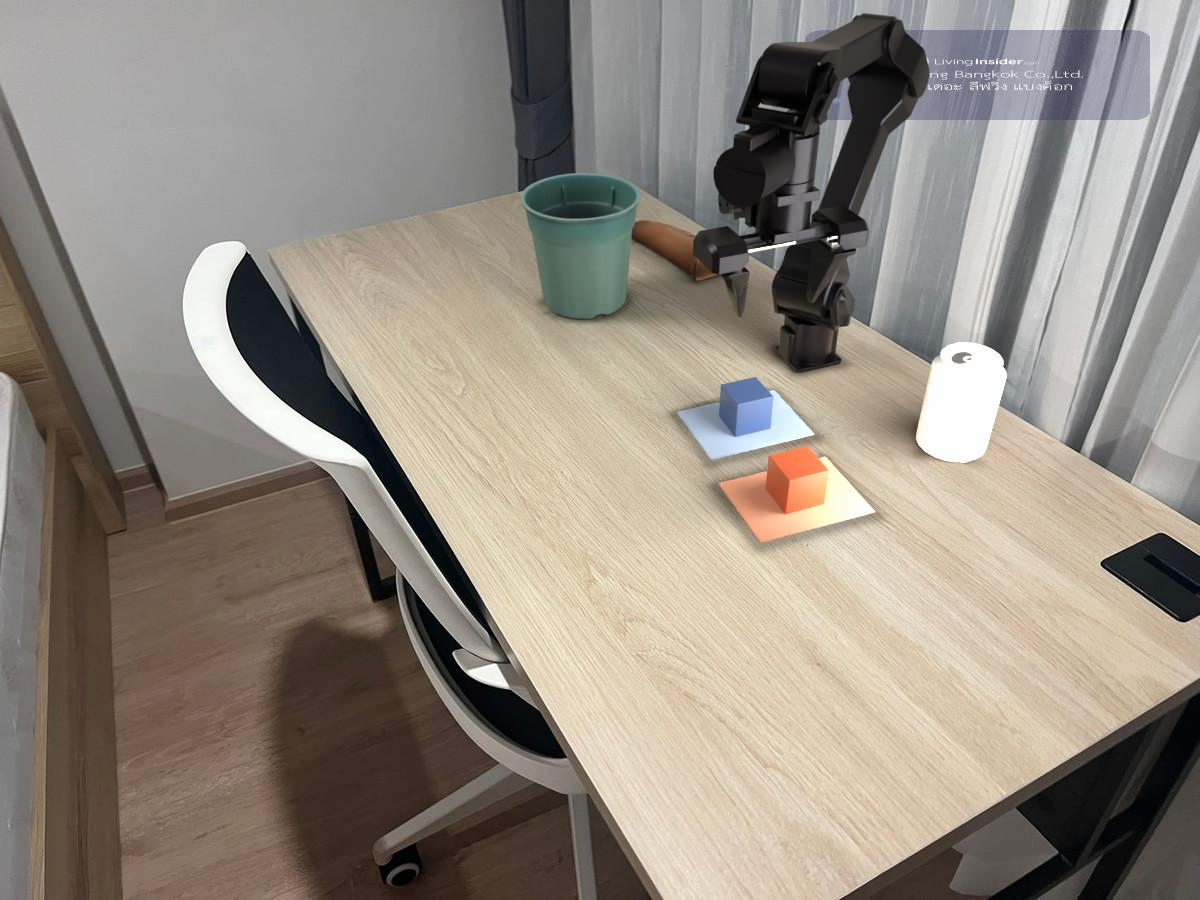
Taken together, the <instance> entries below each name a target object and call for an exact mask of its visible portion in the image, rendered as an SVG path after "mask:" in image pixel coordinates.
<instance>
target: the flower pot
mask: <svg viewBox="0 0 1200 900" xmlns="http://www.w3.org/2000/svg"><path fill="white" fill-rule="evenodd" d="M641 198H642V192H641V190H640V188H639V187H638V186H637V185H636V184H635V183H633V182H632V181H630V180H628V179H625V178H623V177H620V176H616V175H611V174H606V173H596V172H576V173H573V172H572V173H564V174H558V175H557V174H556V175H553V176H549V177H546V178H542V179H540V180H537V181H535V182H533V183H531V184H530V185H528V186H527V187H525V188H524V189H523V191H522V192H521V194H520V204H521V206H522V207H523V209H524V211H525V213H526V217H527V219H526V220H527V225H528V229H529V230H530V232H531V234H532V241H533V246H534V253H535V257H536V263H537V271H538V276H539V281H540V287H541V293H542V294H541V295H542V299H543V303H544V304H545V305H546V306H547V307H548V310H549V311H550V312H552V313H553V314H556V315H558V316H561V317H564V318H569V319H575V320H578V319H579V320H587V319H594V318H595V317H597V316H598V315H604V316H607V315H611V314H614V313H615V312H617V311H618V310H619V309H620V308H622V307H623V305H624V304H625V303H626V299H627V293H628V281H629V270H630V269H629V268H630V258H631V256H630V255H631V246H632V245H631V244H632V239H631V236H632V228H633V227H634V224H635V223H636V216H637V208H638V207H637V206H638V205H639V204H640V201H641Z"/></svg>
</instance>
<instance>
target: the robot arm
mask: <svg viewBox="0 0 1200 900" xmlns="http://www.w3.org/2000/svg"><path fill="white" fill-rule="evenodd" d="M845 79H847V80H848V83H849V85H848V89H847V99H848V100H847V101H848V105H849V109H850V114H851V119H850V123H849V126H848V128H847V131H846V134H845V136H844V139H843V142H842V144H841V148H840V150H839V152H838V154H837V158H836V160H835V163H834V166H833V168H832V171H831V174H830V176H829V179H828V181H827V185H826V187H825V189H824V192H823V194H822V198H821V201H820V197H821V196H820V195H821V189H819V188H817V187H816V186H815V179H816V171H817V169H816V168H817V160H818V151H819V142H820V134H821V126H822V125H823V124H824V123H826V122H827V120H828V112H829V110H830V108H831V106H832V104H833V101H834V100H835V99H836V98H837V97H838V92H839V89H840V86H841V82H842V81H844V80H845ZM929 79H930V66H929V62H928V57H927V55H926V50H925V48H923V46H922V45H921V44H920V43H919V42H917V41H916V40H915V39H914V38H913V37H912V36H911V35H909V33H907V31H906V29H905V26H904V22H903V20H902V19H899V18H898V17H896V16H894V15H885V14H876V13H868V12H866V13H865V12H864V13H861V14H856V15H855V16H854V17H853V19H852V20H851V21H850V22H848V23H846V24H843V25H842V26H839V27H838V28H835V29H834V30H832V31H830V32H828V33H826V34H824V35H822V36H820V37H818V38H816V39H814V40H811V41H780V42H773V43H771V44H770V45H769V46H767V47H766V48H765V49H764V51H763V52H762V55H760V56H759V58H758V59H757V61H756V63H755V66H754V68H753V71H752V74H751V77H750V80H749V82H748V85H747V88H746V91H745V93H744V96H743V99H742V102H741V104H740V106H739V107H740V108H739V110H738V113H737V115H736V118H735V123H736V124H739V125H745V126H748V129H746V130H740V131H739V132H736V133H735V134H734V135H733V143H732V147H729V148H728V149H726V150H724V152H722V153H721V154H720V155H719V156H718V158H717V160H716V162H715V165H714V166H713V171H712V175H713V183H714V185H715V189H716V191H717V192H718V195H717V202H718V210H719V213H720V214H722V215H733V219H734V220H736V221H737V220H739V219H744V225H745V226H747V227H748V228H754V229H755V230H754V232H753V233H747V234H743V235H739V234H738V233H737V232H736V231H734V229H732V228H731V227H730V226H729V225H725V226H720V227H714V228H709V229H704V230H699V231H698V232H697V234H696V235H695V238H694V240H693V255H694V256H695V257H696V258H697V259H698V260H699V261H700V262H701V263H702V264H703V265H704V266H705V267H706V268H707V269H708V270H709V271H710V272H711V273H714V274H719V275H718V276H720V277H721V279H722V280H723V282H724V285H725V288H726V291H727V294H728V297H729V300H730V303H731V306H732V310H733V312H734V315H735V316H736V317H737V318H742V317H743V314H744V311H745V308H746V300H747V293H748V287H749V286H748V285H749V279H750V270H748V268H746V267H745V266H747V265H748V263H749V257H750V254H751V253H756V252H761V251H766V250H772V249H777V248H782V247H787V248H786V249H785V253H784V255H783V259H782V262H781V264H780V267H779V268H778V270H777V271H776V272H775V275H774V277H773V279H772V284H771V295H772V303H773V309H774V311H773V312H774V314H776V315H777V314H778V315H783V316H784V317H783V318H784V319H783V324H782V325H781V326H780V329H779V339H778V344H777V345H775V346H774V351H775V352H776V353H777V354H778V355H779V356H780V357H781V358H782V359H783V360H784V361H785V362H786V363H787V364H788V365H789V366H790V367H791V368H792V370H794V371H795V372H796V373H799V374H800V373H804V372H810V371H814V370H819V369H822V368H827V367H832V366H836V365H840V364H842V358H841V357H840V355H838V354H837V353H836V351H837V345H838V337H839V332H840V331H839V330H840V328H844V327H849V326H850V323H851V318H852V314H853V313H854V311H855V308H854V307H855V303H856V298H855V297H854V296H853V293H852V292H851V291H850V289H849V288H848V286H847V285H848V283H849V279H850V276H851V275H850V269H849V268H850V267H849V263H848V258H849V257H851V256H854V255H856V253H857V249H858V248H864V247H866V246H867V245H868V241H869V234H870V228H869V224H868V222H867V221H866V219H864V218H863V217H861V216H860V215H859V214H860V212H861V209H862V207H863V205H864V202H865V198H866V196H867V193H868V191H869V188H870V186H871V183H872V180H873V177H874V175H875V172H876V170H877V167H878V164H879V161H880V160H881V156H882V154H883V151H884V149H885V146H886V144H887V142H888V138H889V136H890V134H892V132H894V131H895V130H896V129H897V128H898V127H900V126H901V125H902V124H903V123H904V122H905V121H907V120H908V119H910V117H911V116H912V114H913V112H914V110H915V107H916V106H917V103H918V100H919V99H920V98H922V97H923V96H924V94H925V92H926V90H927V87H928V84H929ZM760 105H763V106H769V107H774V108H781V109H787V110H786V111H783V110H777V109H772V108H766V107H761V106H760ZM813 201H820V202H819V203H820V204H819V205H818V209H816V210H815V211H814V213H812V207H813V206H812V205H813V204H812V203H813Z"/></svg>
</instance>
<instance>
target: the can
mask: <svg viewBox="0 0 1200 900" xmlns="http://www.w3.org/2000/svg"><path fill="white" fill-rule="evenodd" d="M1003 366H1004V359H1003V357H1002V356H1001V354H1000V353H999V352H997V351H995V349H993V348H991V347H988V346H986V345H983V344H979V343H975V342H955V343H951V344H948V345H946V346H944V347H943V348H942V349H941V350H940V353H939V355H937V356H935V358H934V359H933V360H932V361H931V364H930V370H929V373H928V379H927V383H926V387H925V391H924V396H923V401H922V404H921V410H920V414H919V419H918V424H917V428H916V434H915V440H916V443H917V444H918V447H920V448H921V449H922V450H923V452H925V453H926V454H928V455H929V456H932V457H934V458H936V459H939V460H941V461H944V462H949V463H950V462H951V463H961V464H964V463H968V462H971V461H974V460H977V459H979V458H980V457H982V456H984V454H985V452H986V451H987V448H988V445H989V441H990V438H991V434H992V430H993V426H994V423H995V419H996V416H997V413H998V409H999V405H1000V402H1001V398H1002V395H1003V391H1004V387H1005V384H1006V380H1007V371H1006V369H1005V368H1004V367H1003Z"/></svg>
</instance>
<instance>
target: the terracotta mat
mask: <svg viewBox="0 0 1200 900" xmlns="http://www.w3.org/2000/svg"><path fill="white" fill-rule="evenodd" d="M818 458H819V460H820V461H821V462H822V463H823V464H824V465H825V466H826V467H827V469H828V470H829V475H828V481H827V488H826V494H825V501H824V504H822V505H819V506H815V507H811V508H807V509H804V510H800V511H796V512H792V513H789V514H785V513H784V512H783V510H782V509H781V508H780V507H779V505H778V504H777V503H776V501H775V500H774V499H773V498H772V496H771V495H770V494H769V492H768V491H767V490H766V488H765V487H766V477H767V470H764V471H762V472H757V473H753V474H749V475H744V476H742V477H741V476H740V477H737V478H734V479H729V480H724V481H720V482H718V483H717V484H718V485H719V487H720V488H721V489H722V491H723V493H724V494H725V495H726V497H727V498H728V499H729V501H730V503H731V504H732V505H733V506H734V508H735V509H736V511H737V512H738V513H739V515H740V517H741V518H742V519H743V520H744V522H745V524H746V525H747V526H748V527H749V529H750V530H751V532H752V534H753V535H754V536H755V537H756V539H757V540H758V542H759V543H760V544H763V543H765V542H769V541H773V540H778V539H781V538H784V537H787V536H792V535H796V534H800V533H803V532H807V531H810V530H814V529H818V528H821V527H825V526H829V525H832V524H836V523H839V522H844V521H847V520H851V519H856V518H858V517H863V516H866V515H869V514H872V513H876V511H875V509H874V508H872V506H871V505H870V504H869V503H868V502H867V501H866V500H865V498H864V497H862V495H861V494H860V493H859V492H858V491H857V489H855V487H853V485H852V484H851V483H850V482H849V481H848V479H847V478H846V477H845V476H844V475H843V474H842V473H841V472H840V471H839V469H838V468H837V467H836V466H835V465H834V464H833V463H832V462H831V460H830V459H829V458H828V457H827V456H825V455H824V456H821V457H818Z"/></svg>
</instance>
